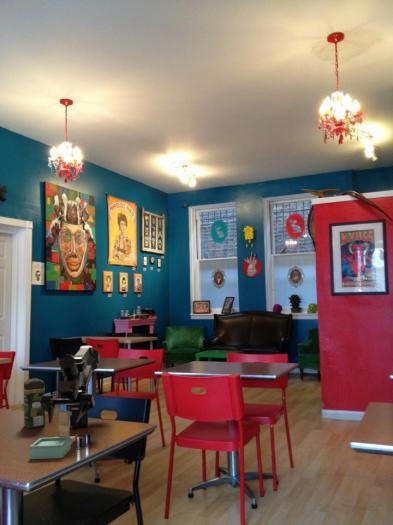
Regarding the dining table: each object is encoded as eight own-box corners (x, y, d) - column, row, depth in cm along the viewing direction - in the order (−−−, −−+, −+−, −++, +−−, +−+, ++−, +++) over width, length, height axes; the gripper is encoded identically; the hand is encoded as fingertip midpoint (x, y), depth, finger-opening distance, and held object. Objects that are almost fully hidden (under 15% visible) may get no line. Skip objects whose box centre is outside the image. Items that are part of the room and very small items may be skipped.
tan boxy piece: (55, 440, 171) (55, 410, 172) (75, 439, 171) (75, 410, 172) (49, 446, 164) (48, 415, 165) (70, 445, 164) (69, 414, 165)
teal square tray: (40, 449, 159) (40, 437, 160) (70, 448, 159) (70, 436, 159) (29, 459, 149) (29, 446, 150) (61, 457, 149) (61, 445, 150)
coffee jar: (22, 424, 197) (22, 378, 199) (42, 422, 201) (42, 376, 203) (25, 429, 189) (25, 381, 191) (46, 426, 192) (46, 379, 194)
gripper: (41, 372, 175) (30, 410, 163) (92, 370, 175) (85, 408, 163) (48, 391, 182) (38, 428, 170) (97, 389, 182) (91, 426, 170)
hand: (63, 422), depth 168 cm, fingers open, 9 cm apart
